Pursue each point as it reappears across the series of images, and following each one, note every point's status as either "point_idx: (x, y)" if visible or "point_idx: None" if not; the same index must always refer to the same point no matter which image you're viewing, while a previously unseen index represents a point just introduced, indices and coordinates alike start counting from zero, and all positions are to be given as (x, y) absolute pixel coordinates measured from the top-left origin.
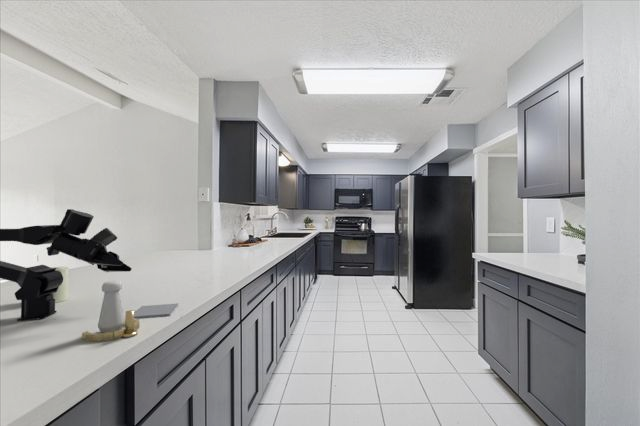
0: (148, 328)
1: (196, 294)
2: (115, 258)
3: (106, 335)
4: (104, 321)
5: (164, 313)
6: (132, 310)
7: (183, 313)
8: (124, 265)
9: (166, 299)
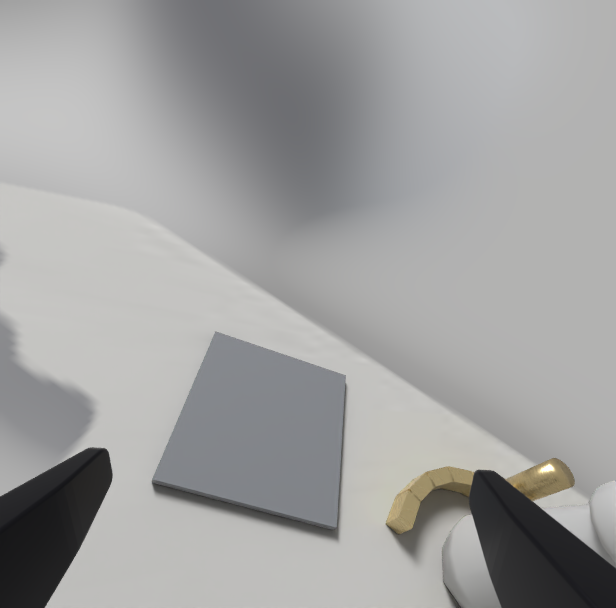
0: (446, 445)
1: (67, 247)
2: (589, 557)
3: None
4: None
5: (335, 389)
6: (553, 463)
7: (330, 342)
8: (22, 538)
9: (49, 359)
